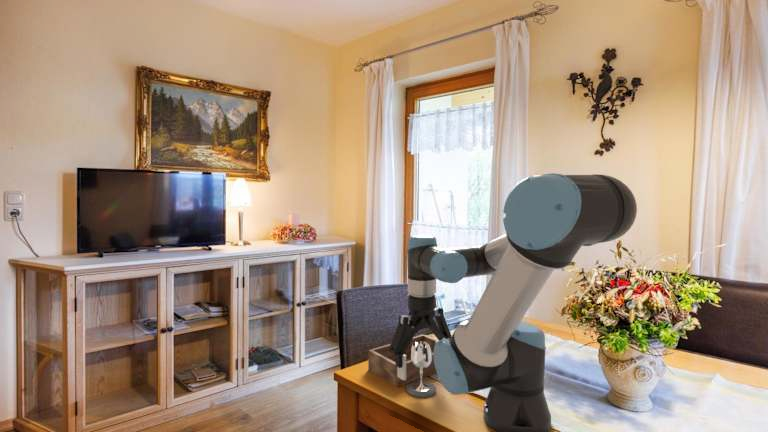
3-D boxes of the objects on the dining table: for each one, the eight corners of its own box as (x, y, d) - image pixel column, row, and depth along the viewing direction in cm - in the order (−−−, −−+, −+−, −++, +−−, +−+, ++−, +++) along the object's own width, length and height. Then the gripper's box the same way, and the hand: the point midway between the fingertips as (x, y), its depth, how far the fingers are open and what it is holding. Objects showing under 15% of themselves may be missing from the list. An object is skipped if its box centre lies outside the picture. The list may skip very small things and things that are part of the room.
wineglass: (435, 386, 117) (435, 343, 117) (425, 395, 113) (425, 350, 112) (416, 381, 121) (416, 339, 120) (406, 389, 116) (406, 346, 115)
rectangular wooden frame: (454, 366, 132) (454, 347, 131) (397, 387, 118) (398, 366, 118) (423, 351, 143) (423, 334, 142) (368, 369, 129) (368, 350, 129)
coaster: (442, 391, 116) (442, 389, 116) (420, 400, 111) (420, 398, 111) (422, 380, 122) (422, 378, 122) (400, 388, 117) (400, 386, 117)
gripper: (445, 284, 125) (444, 355, 127) (375, 298, 110) (375, 379, 112) (464, 289, 119) (463, 364, 121) (393, 305, 104) (393, 390, 106)
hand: (421, 371), depth 116 cm, fingers open, 13 cm apart
